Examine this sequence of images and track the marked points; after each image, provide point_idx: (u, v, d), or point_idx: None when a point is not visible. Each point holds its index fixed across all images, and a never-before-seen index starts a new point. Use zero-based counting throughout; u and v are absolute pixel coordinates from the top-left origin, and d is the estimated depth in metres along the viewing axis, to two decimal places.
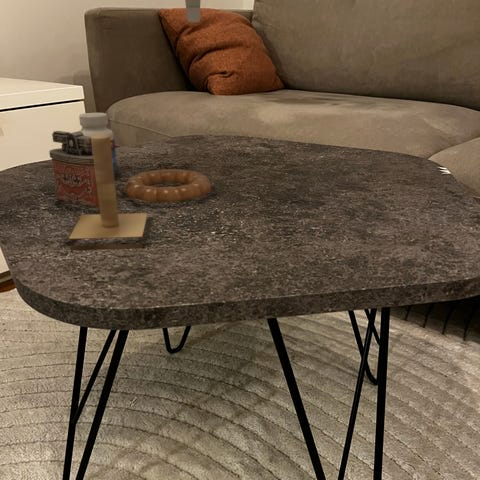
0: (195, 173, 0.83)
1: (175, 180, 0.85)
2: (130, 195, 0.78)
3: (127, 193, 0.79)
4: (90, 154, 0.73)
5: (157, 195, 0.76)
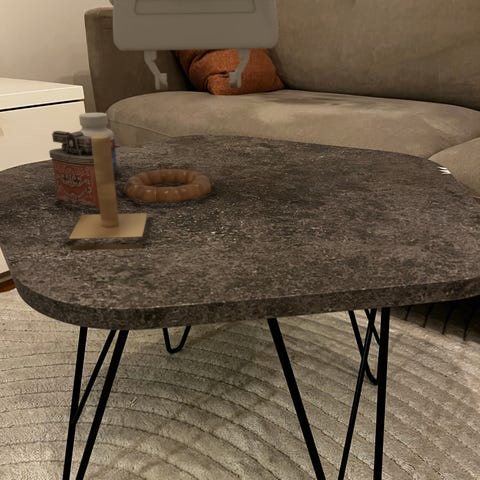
0: (195, 173, 0.83)
1: (175, 180, 0.85)
2: (130, 195, 0.78)
3: (127, 193, 0.79)
4: (90, 154, 0.73)
5: (157, 195, 0.76)
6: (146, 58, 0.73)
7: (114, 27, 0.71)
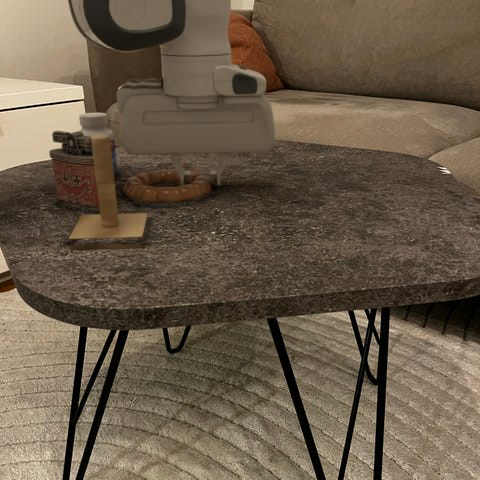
0: (195, 173, 0.83)
1: (175, 180, 0.85)
2: (130, 195, 0.78)
3: (127, 193, 0.79)
4: (90, 154, 0.73)
5: (157, 195, 0.76)
6: (172, 160, 0.79)
7: (123, 135, 0.77)
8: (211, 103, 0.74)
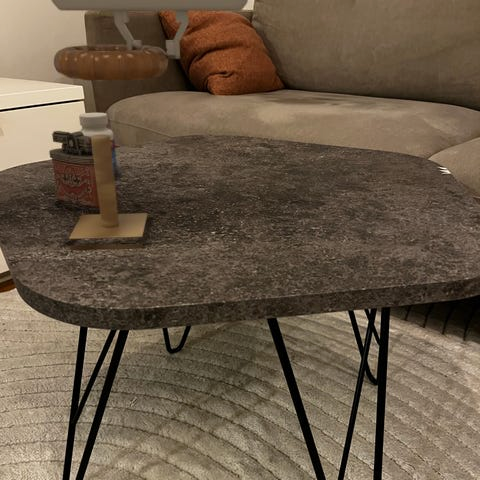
0: (148, 46, 0.66)
1: None
2: (61, 62, 0.61)
3: (57, 62, 0.61)
4: (90, 154, 0.73)
5: (94, 59, 0.59)
6: (116, 20, 0.61)
7: None
8: None
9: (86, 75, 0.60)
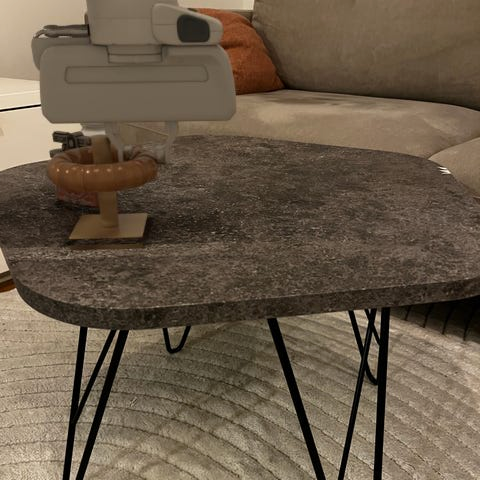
0: (139, 149, 0.67)
1: (115, 158, 0.68)
2: (52, 175, 0.61)
3: (49, 173, 0.62)
4: None
5: (84, 174, 0.60)
6: (107, 131, 0.62)
7: (41, 98, 0.60)
8: (152, 55, 0.58)
9: (76, 188, 0.61)
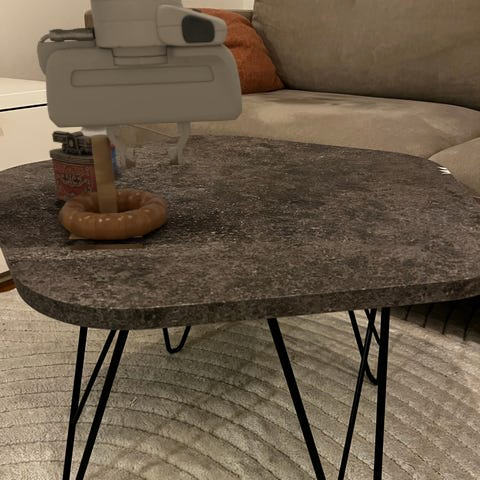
0: (149, 194, 0.69)
1: (125, 202, 0.70)
2: (65, 222, 0.64)
3: (62, 220, 0.65)
4: (90, 154, 0.73)
5: (96, 224, 0.62)
6: (108, 133, 0.62)
7: (48, 102, 0.60)
8: (157, 56, 0.58)
9: (88, 236, 0.63)
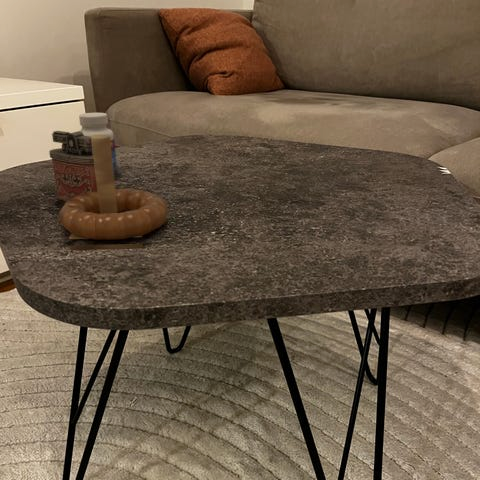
0: (149, 194, 0.69)
1: (125, 202, 0.70)
2: (65, 222, 0.64)
3: (62, 220, 0.65)
4: (90, 154, 0.73)
5: (96, 224, 0.62)
6: None
7: None
8: None
9: (88, 236, 0.63)
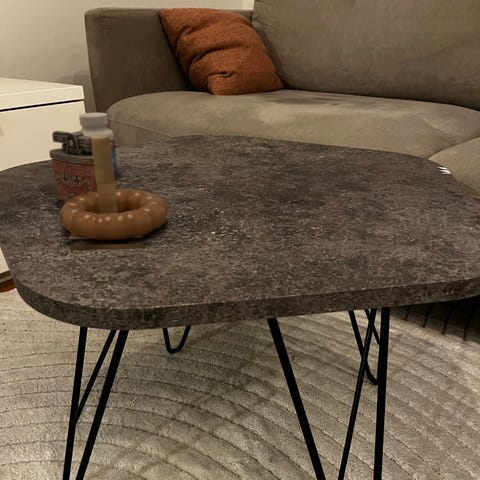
0: (149, 194, 0.69)
1: (125, 202, 0.70)
2: (65, 222, 0.64)
3: (62, 220, 0.65)
4: (90, 154, 0.73)
5: (96, 224, 0.62)
6: None
7: None
8: None
9: (88, 236, 0.63)
